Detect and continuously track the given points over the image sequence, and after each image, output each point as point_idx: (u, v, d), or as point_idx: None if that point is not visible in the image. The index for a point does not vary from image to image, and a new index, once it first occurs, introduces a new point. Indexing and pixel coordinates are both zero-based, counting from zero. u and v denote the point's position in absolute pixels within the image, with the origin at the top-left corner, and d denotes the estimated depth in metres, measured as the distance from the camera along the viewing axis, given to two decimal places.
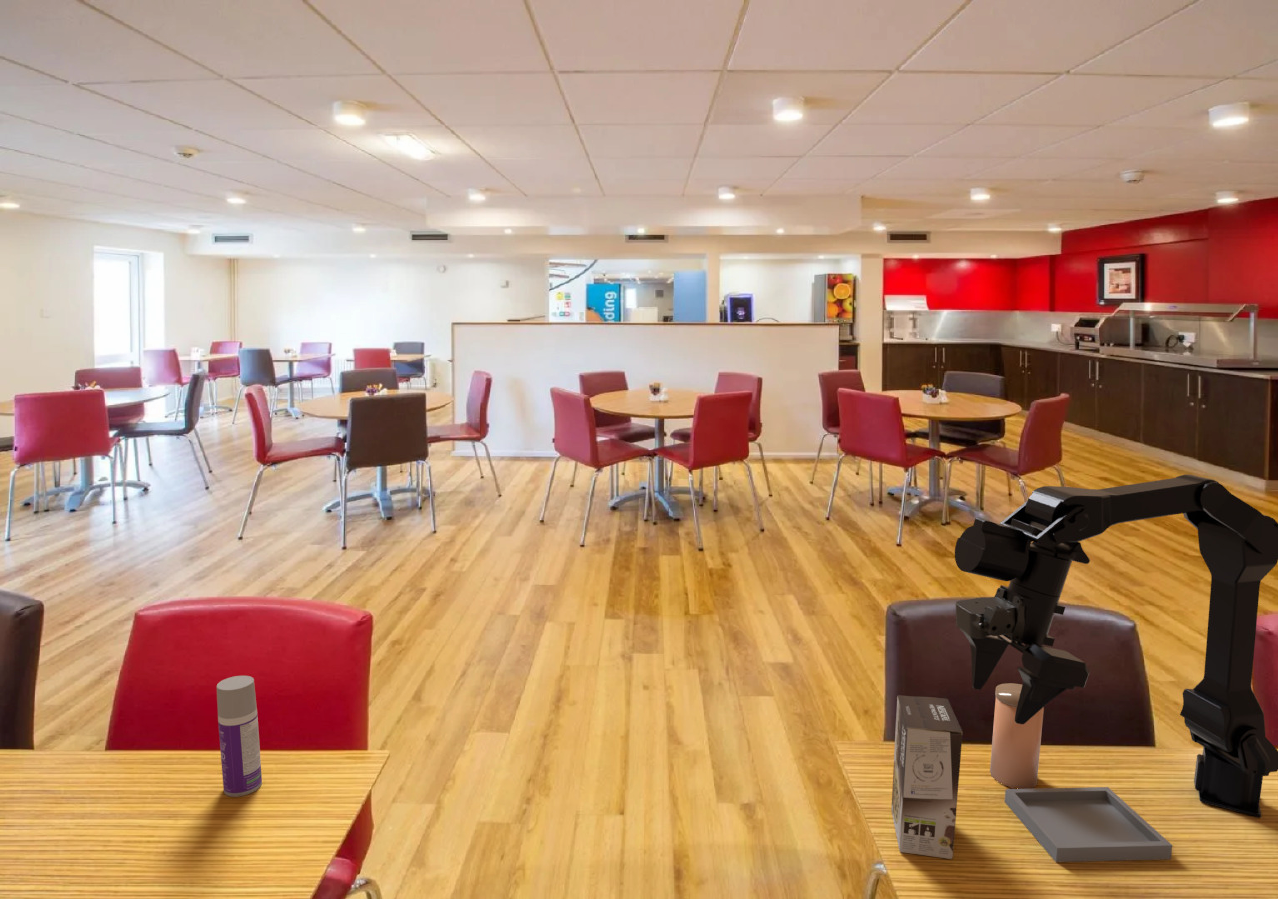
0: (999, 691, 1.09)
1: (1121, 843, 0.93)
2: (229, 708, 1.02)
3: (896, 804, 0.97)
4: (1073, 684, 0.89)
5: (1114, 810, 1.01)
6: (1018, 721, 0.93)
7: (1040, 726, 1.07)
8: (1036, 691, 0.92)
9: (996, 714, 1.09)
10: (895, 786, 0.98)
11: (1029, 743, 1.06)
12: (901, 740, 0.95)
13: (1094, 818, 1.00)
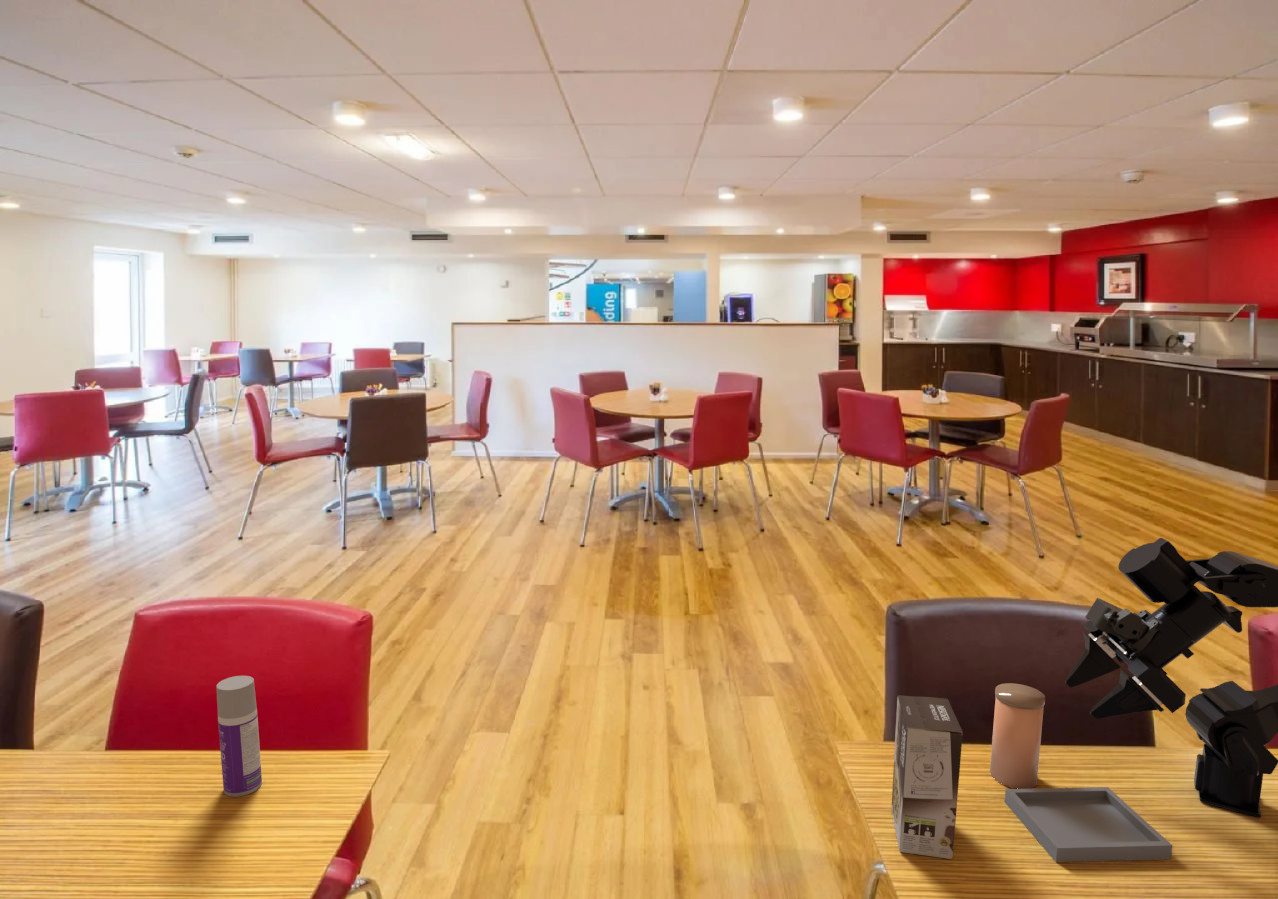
0: (999, 691, 1.09)
1: (1121, 843, 0.93)
2: (229, 708, 1.02)
3: (896, 804, 0.97)
4: (1164, 703, 0.96)
5: (1114, 810, 1.01)
6: (1093, 713, 1.02)
7: (1040, 726, 1.07)
8: (1125, 696, 1.00)
9: (996, 714, 1.09)
10: (895, 786, 0.98)
11: (1029, 743, 1.06)
12: (901, 740, 0.95)
13: (1094, 818, 1.00)
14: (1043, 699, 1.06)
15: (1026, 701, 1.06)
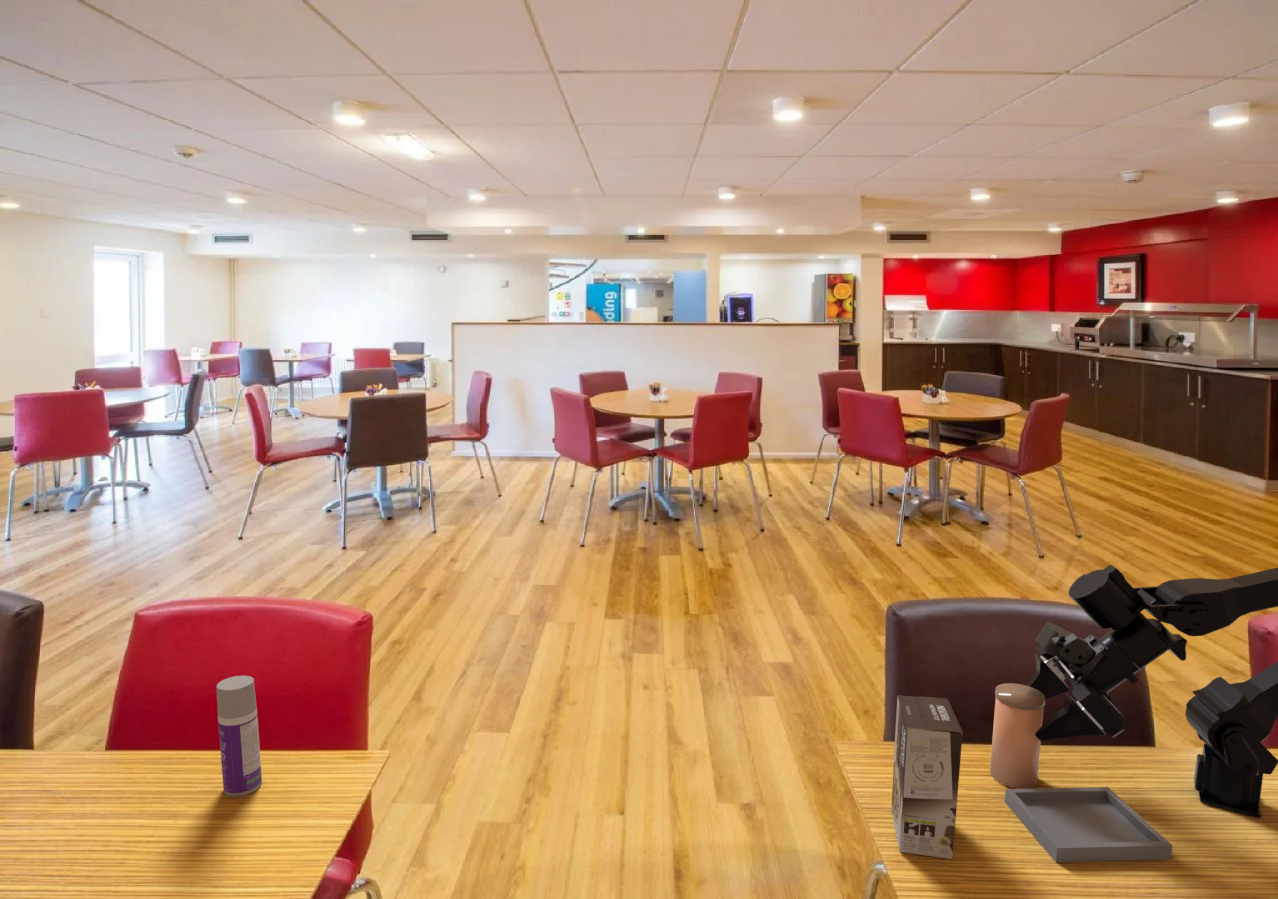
0: (999, 691, 1.09)
1: (1121, 843, 0.93)
2: (229, 708, 1.02)
3: (896, 804, 0.97)
4: (1104, 728, 0.98)
5: (1114, 810, 1.01)
6: (1038, 735, 1.04)
7: (1040, 726, 1.07)
8: (1068, 720, 1.02)
9: (996, 714, 1.09)
10: (895, 786, 0.98)
11: (1029, 743, 1.06)
12: (901, 740, 0.95)
13: (1094, 818, 1.00)
14: (1043, 699, 1.06)
15: (1026, 701, 1.06)
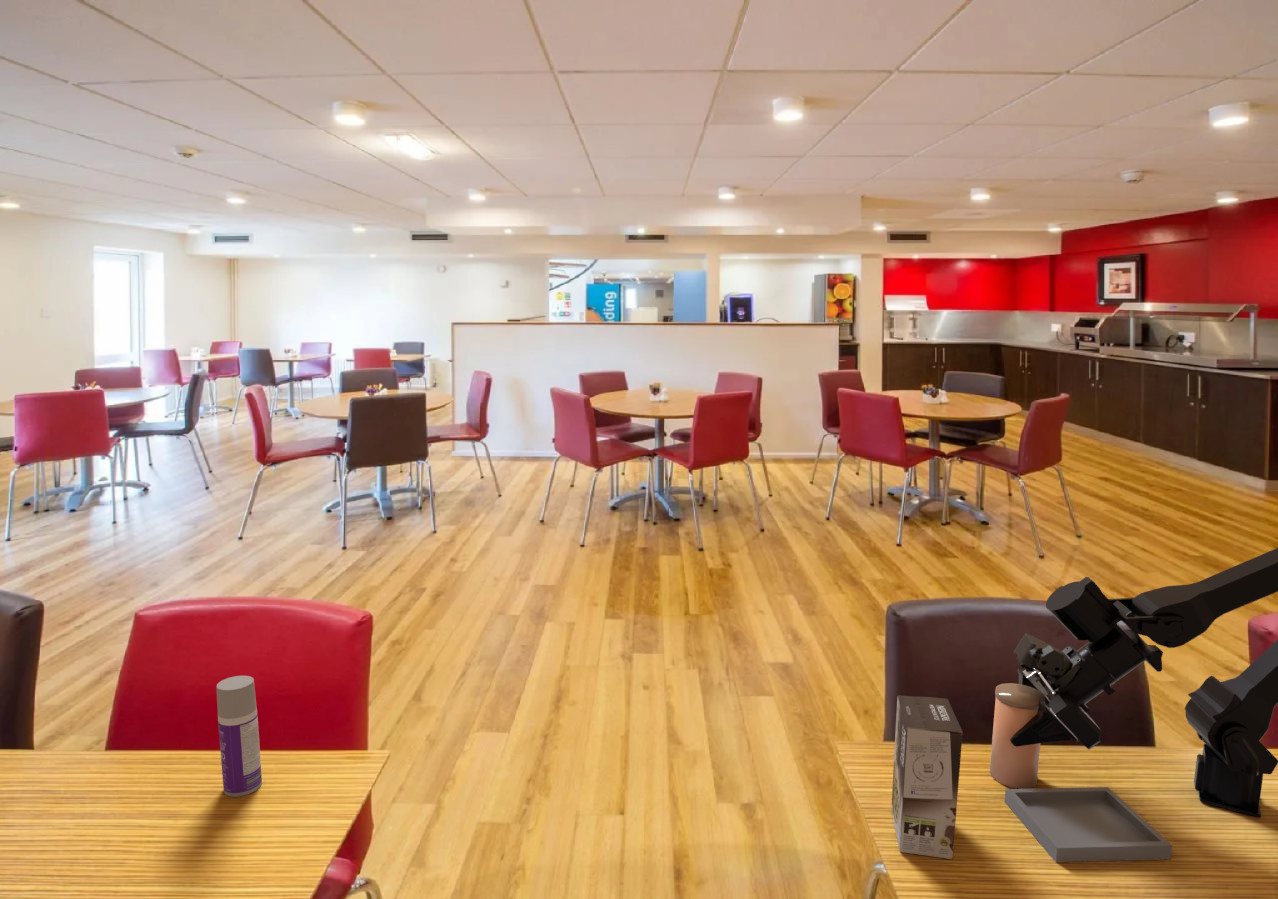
0: (999, 691, 1.09)
1: (1121, 843, 0.93)
2: (229, 708, 1.02)
3: (896, 804, 0.97)
4: (1080, 740, 0.99)
5: (1114, 810, 1.01)
6: (1013, 741, 1.06)
7: None
8: (1042, 726, 1.04)
9: (996, 714, 1.09)
10: (895, 786, 0.98)
11: None
12: (901, 740, 0.95)
13: (1094, 818, 1.00)
14: (1043, 699, 1.06)
15: (1026, 701, 1.06)
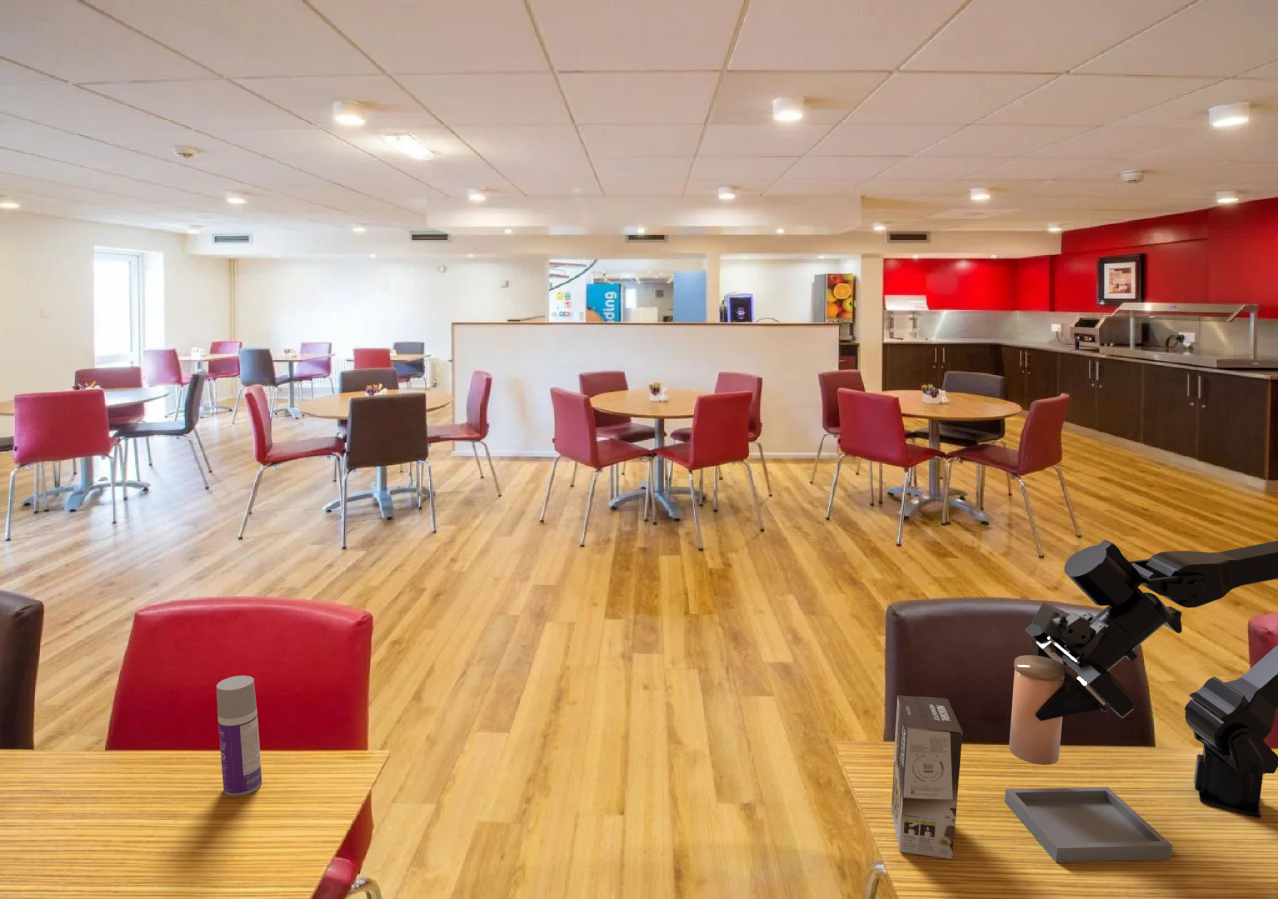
0: (1019, 664, 1.04)
1: (1121, 843, 0.93)
2: (229, 708, 1.02)
3: (896, 804, 0.97)
4: (1115, 708, 0.94)
5: (1114, 810, 1.01)
6: (1038, 715, 1.01)
7: None
8: (1069, 697, 1.00)
9: (1017, 688, 1.04)
10: (895, 786, 0.98)
11: None
12: (901, 740, 0.95)
13: (1094, 818, 1.00)
14: (1065, 669, 1.02)
15: (1050, 672, 1.01)
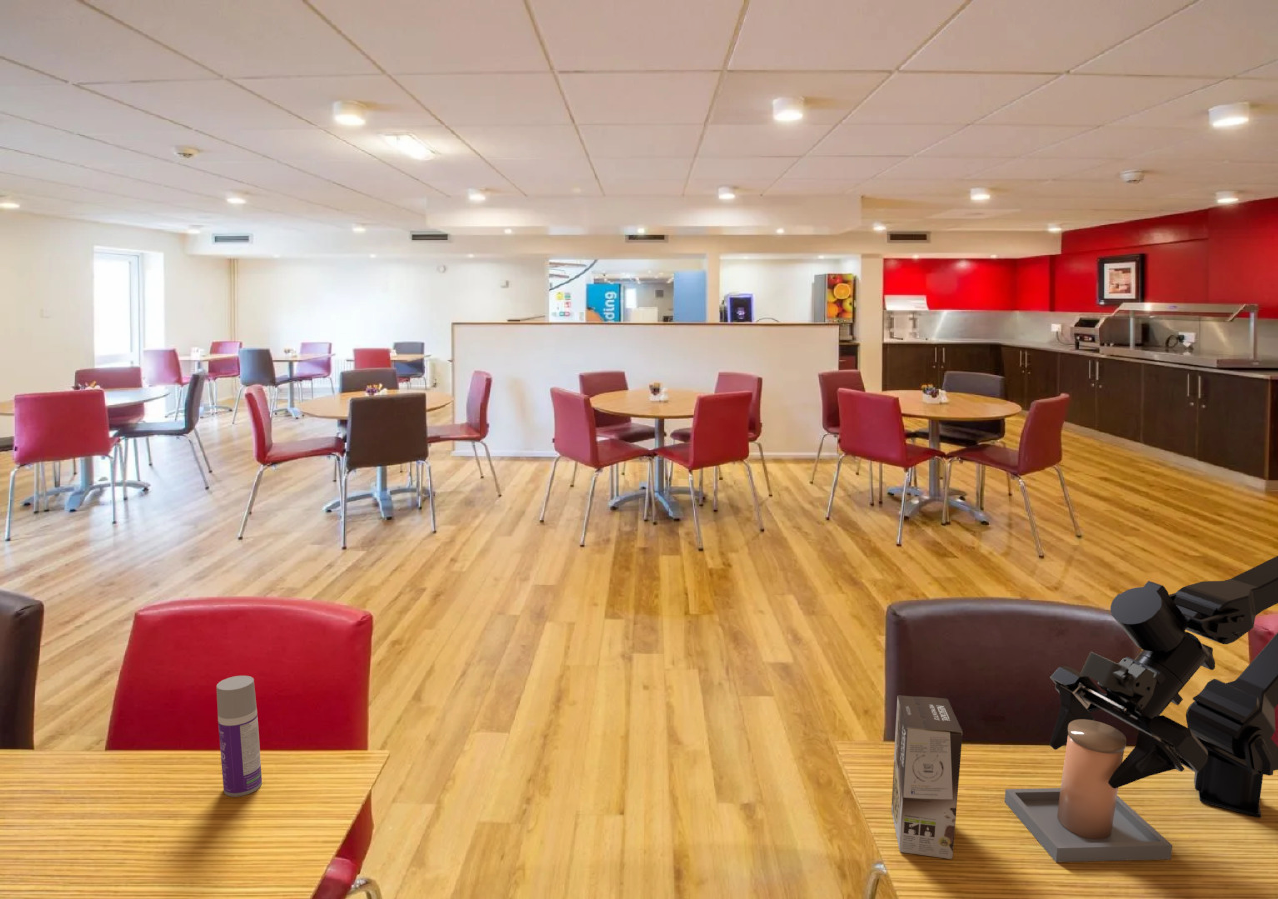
0: (1078, 735, 0.95)
1: (1121, 843, 0.93)
2: (229, 708, 1.02)
3: (896, 804, 0.97)
4: (1193, 764, 0.89)
5: None
6: (1112, 783, 0.92)
7: None
8: (1143, 760, 0.92)
9: (1076, 761, 0.96)
10: (895, 786, 0.98)
11: (1115, 788, 0.95)
12: (901, 740, 0.95)
13: None
14: (1123, 736, 0.95)
15: (1114, 743, 0.94)
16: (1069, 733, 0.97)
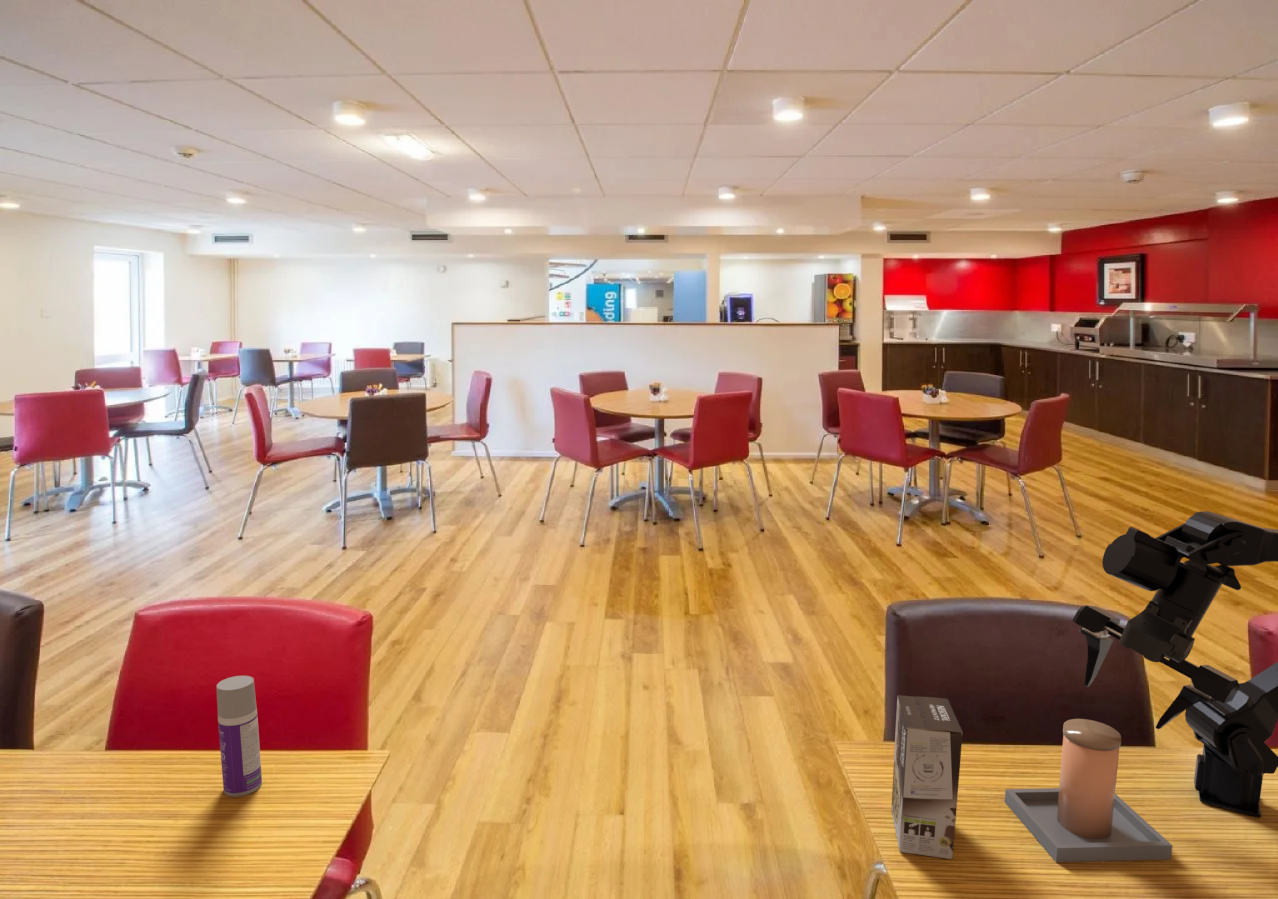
0: (1073, 734, 0.96)
1: (1121, 843, 0.93)
2: (229, 708, 1.02)
3: (896, 804, 0.97)
4: (1230, 700, 0.97)
5: (1114, 810, 1.01)
6: (1160, 727, 1.01)
7: None
8: None
9: (1072, 760, 0.96)
10: (895, 786, 0.98)
11: (1112, 786, 0.95)
12: (901, 740, 0.95)
13: None
14: (1118, 733, 0.96)
15: (1109, 740, 0.94)
16: (1064, 732, 0.97)
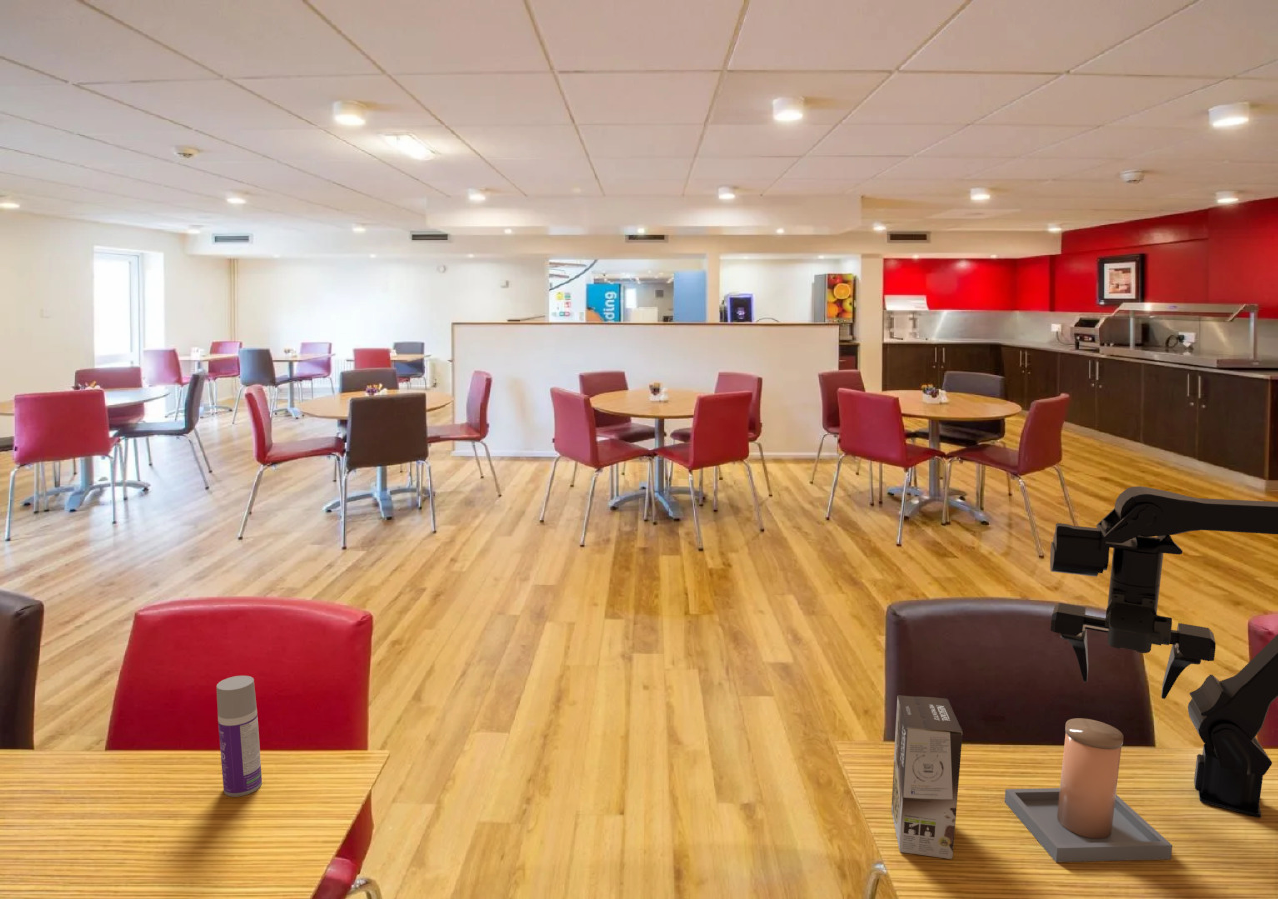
0: (1075, 732, 0.96)
1: (1121, 843, 0.93)
2: (229, 708, 1.02)
3: (896, 804, 0.97)
4: None
5: (1114, 810, 1.01)
6: (1165, 697, 1.06)
7: None
8: None
9: (1074, 758, 0.96)
10: (895, 786, 0.98)
11: (1113, 786, 0.95)
12: (901, 740, 0.95)
13: None
14: (1120, 733, 0.96)
15: (1111, 739, 0.95)
16: (1066, 730, 0.98)
